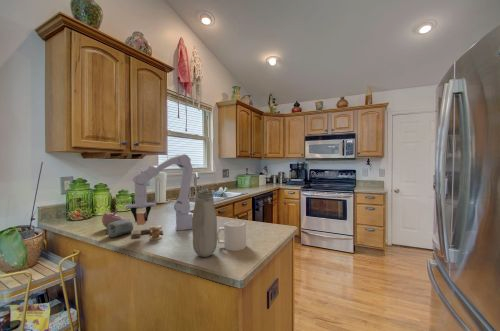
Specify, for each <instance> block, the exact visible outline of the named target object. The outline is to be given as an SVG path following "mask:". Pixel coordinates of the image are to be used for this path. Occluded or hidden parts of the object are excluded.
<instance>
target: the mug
mask: <svg viewBox="0 0 500 331" xmlns="http://www.w3.org/2000/svg"><path fill="white" fill-rule="evenodd" d="M220 231H223V240H222V239H220V236H219V233H220ZM217 244H223V245H224V249H225V250H227V251H233V252H235V251H242V250H244V249H245V247H246V248H247V223H246V222H244V221H241V220H232V221H227V222H224V223H223V227H222V226H220V227H218V228H217Z"/></svg>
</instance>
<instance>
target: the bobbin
mask: <svg viewBox="0 0 500 331" xmlns="http://www.w3.org/2000/svg"><path fill="white" fill-rule="evenodd" d="M161 228H162V229H163V226H162V225H159V224H158V225H152V226H149V228H148V229H150V230H152V236H151V235H150V237H149V240H150V241H158V240H159V241H160V240H161V239H162V238H163V235H160V234H159V229H161Z"/></svg>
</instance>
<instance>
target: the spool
mask: <svg viewBox="0 0 500 331" xmlns="http://www.w3.org/2000/svg"><path fill="white" fill-rule="evenodd" d="M105 228H106V234H107V236H108V237H109V238H116V237H119V236H122V235H126V234H130V233H133V231H134V224H133V222H132V220H130V219H127V218H125V219H123V220H118V221H115V222H112V223H109V224H108V225H107V227H105Z"/></svg>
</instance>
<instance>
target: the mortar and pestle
mask: <svg viewBox="0 0 500 331" xmlns="http://www.w3.org/2000/svg"><path fill="white" fill-rule="evenodd" d="M117 213H118V209H115V211H114V212H111V211H110V212H107V211H105V212H104V213H103V215H102V219H101V221H102V222H101V223H102V225H103V226H104V227H105V228H106V227H107V225H108V224H109V223H112V222H115V221H118V220H123V219H126V217H124V216H122V215H118V214H117Z"/></svg>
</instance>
